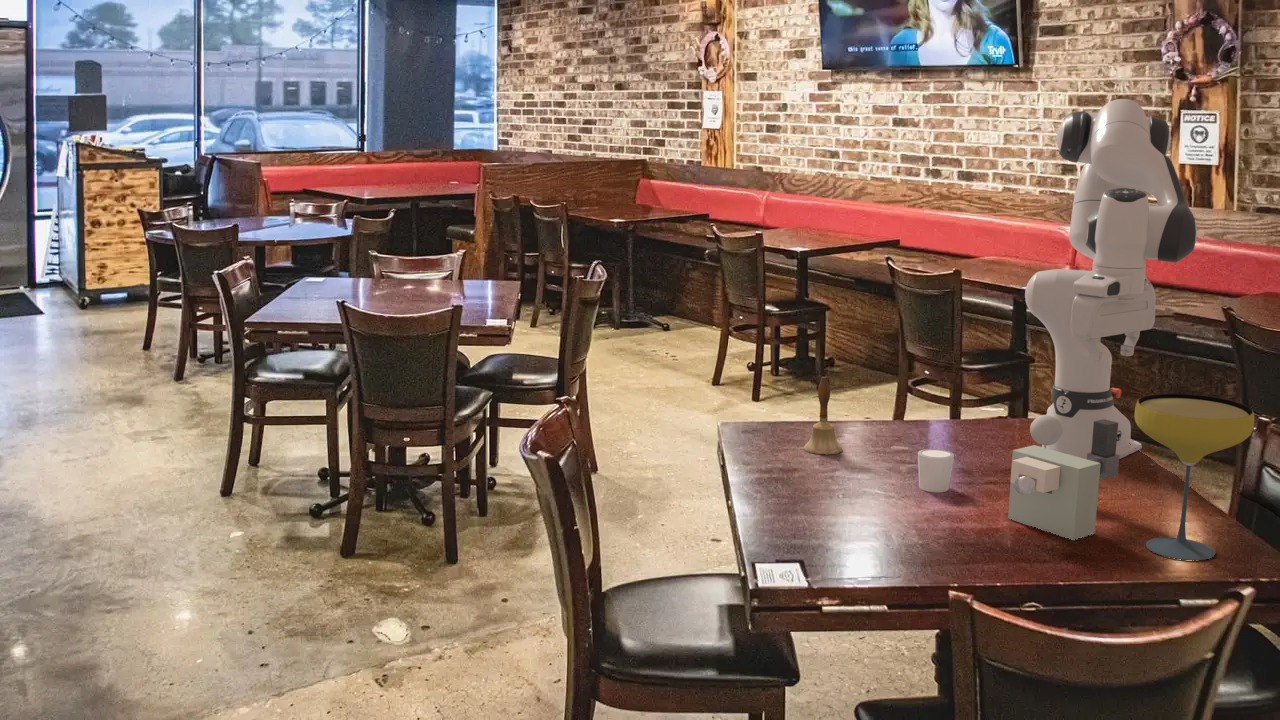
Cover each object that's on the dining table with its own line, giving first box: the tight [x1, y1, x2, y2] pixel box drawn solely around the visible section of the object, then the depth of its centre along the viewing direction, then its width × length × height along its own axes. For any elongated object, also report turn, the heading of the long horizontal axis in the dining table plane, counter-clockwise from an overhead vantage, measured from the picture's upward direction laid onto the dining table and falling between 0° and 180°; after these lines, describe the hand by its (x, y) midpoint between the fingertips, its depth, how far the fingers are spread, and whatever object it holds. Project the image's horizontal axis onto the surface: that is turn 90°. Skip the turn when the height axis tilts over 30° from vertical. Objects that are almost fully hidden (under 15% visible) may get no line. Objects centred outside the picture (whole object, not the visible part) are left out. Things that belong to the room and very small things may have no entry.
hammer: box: [1014, 419, 1120, 495], centre depth 224 cm, size 25×4×10 cm, turn 125°
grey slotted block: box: [1007, 444, 1101, 541], centre depth 224 cm, size 6×14×13 cm, turn 35°
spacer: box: [1009, 457, 1060, 493], centre depth 220 cm, size 4×7×4 cm, turn 35°
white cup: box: [917, 448, 955, 493], centre depth 246 cm, size 7×7×7 cm
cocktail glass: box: [1134, 393, 1255, 562], centre depth 211 cm, size 18×18×25 cm
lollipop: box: [1029, 414, 1063, 448], centre depth 244 cm, size 6×6×15 cm
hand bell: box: [803, 376, 843, 456], centre depth 271 cm, size 8×8×16 cm
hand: (1111, 358), depth 227 cm, fingers open, 8 cm apart
